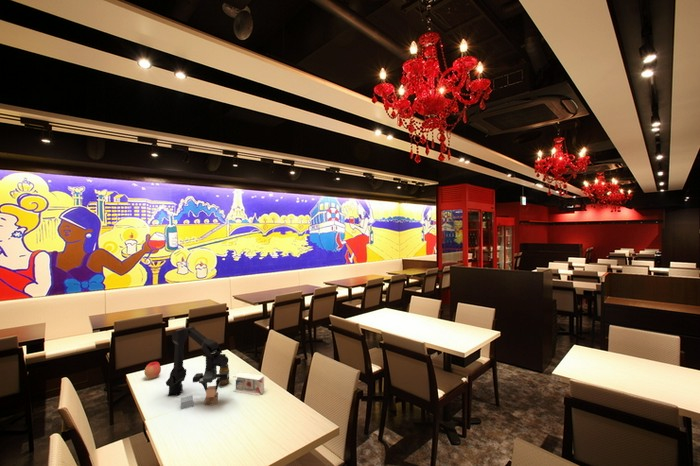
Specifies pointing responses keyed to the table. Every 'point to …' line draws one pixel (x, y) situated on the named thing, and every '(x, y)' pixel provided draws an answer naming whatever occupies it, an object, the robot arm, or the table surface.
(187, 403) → the slate block
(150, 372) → the apple
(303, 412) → the table surface
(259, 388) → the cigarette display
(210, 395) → the terracotta cube
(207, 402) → the walnut block
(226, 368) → the condiment
